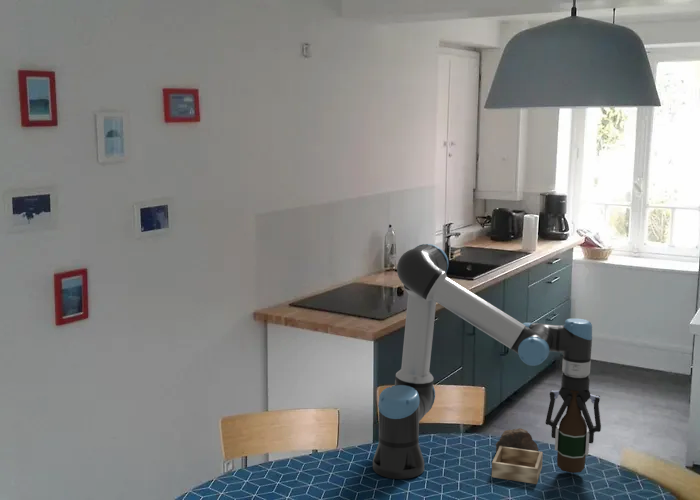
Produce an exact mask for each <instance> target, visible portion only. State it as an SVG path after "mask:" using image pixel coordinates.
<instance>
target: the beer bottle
mask: <svg viewBox="0 0 700 500" xmlns="http://www.w3.org/2000/svg"><path fill="white" fill-rule="evenodd" d="M570 392H571V393H572V399H571V400H570V406H567V407H566V410H565V414H564V416H563V417H561V419H560V421H559V423H558V424H559V425H558V426H559V434H558V450H557V453H556V455H557V456H556V465H557V468H559V469H560V470H561V471H563V472H566V473H567V472H568V473H571V474H574V473H575V474H576V473H582V472H583V470H584V469H585V467H586V458H587V457H586V456H587V455H585V451H586V434H587V430H588V426H587V424H586V421H585V418H584V416H583V413H582V411H581V409H580V407H578V405H577V399H576V396H577V393H579V392H578V391H572V390H571V391H570Z"/></svg>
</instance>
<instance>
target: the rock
mask: <svg viewBox="0 0 700 500" xmlns="http://www.w3.org/2000/svg"><path fill="white" fill-rule="evenodd" d="M499 446H504V447H511V448H518V449H525V450H533V451H539V447H538V445H537V443H536V441H534V440H533V436H532V435H531V433H530V432H528V431H527V430H526V429H524V428H521V427H520V428H515V429H507V430H504V431H503V433H502V434H501V436H500V438H499V440H498V441H496V442H495V447H496V448H495V453H497V451H498V449H499Z"/></svg>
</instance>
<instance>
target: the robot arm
mask: <svg viewBox="0 0 700 500" xmlns="http://www.w3.org/2000/svg"><path fill="white" fill-rule="evenodd" d="M396 265H397V266H396V273H397V276H398V279H399V280H400V282H401V284H403V289H404V291H406V293H407V304H406V312H405V313H406V314H405V315H406V316H405V322H404V323H405V324H404V325H405V326H404V336H403V337H404V338H403V346H402V355H401V356H402V358H401V367H400V370H398V371H397V372H396V373H395V380H394V385H392V386H388V387H386V388H385V389H383V390H381V392H380V393H379V397H378V405H377V407H378V444H377V447H376V450H375V452H374V456H373V459H372V470H373V471H374V472H375V473H376V474H377V475H379V476H382V477H383V478H387V479H393V480H406V479H412V478H416V477H418V476H420V475H421V474H423V472H424V471H425V459H424V455H423V453H422V450H421V447H420V444H419V440H420V438H419V434H420V432H419V431H420V429H419V428H420V425H419V424H420V421H422V419H423V418H424V416H425V415H427V414H428V412H430V410H431V409H432V408H433V406H434V403H435V400H436V390H435V387H434V376H433V374H432V373H431V372H430V369H431V368H430V366H431V358H432V357H431V356H432V347H433V337H434V328H435V326H434V325H435V317H436V307H437V304H439V305H440V306H442V307H443V308H445V309H446V310H448V311H449V312H451V313H453V314H454V315H456V316H458V318H460V319H463V320H464V321H466V322H467V323H469V324H471V325H472V326H473V327H475V328H477V329H478V330H479V331H481V332H483V333H485V334H486V335H488V336H489V337H491V338H492V339H494V340H495V341H497V342H498V343H500V344H502V345H504V346H505V347H507V348H509V349H510V350H512V351H513V352H515V353H516V354H518V356H519V357H518V358H519V359H520V360H521V361H522V362H523V363H524V364H525V365H527V366H531V367H532V366H533V367H534V366H539V365H541V364H543V362H544V361H545V360H547V358H548V357H549V355H550V352H555V353H562V367H561V369H562V370H561V372H562V374H561V386H560V388H559V389H558V390H554V389H550V391H549V405H548V410H547V414H546V418H545V419H546V420H545V424H546V425H547V426H548V425H549V426H550V427H551V438H553V439H555V440H554V451H557V452H558V434H559V425H558V424H559V423H560V421H561V419H562V418H563V417H562V416H563V414H564V413H565V412H566V410H567V406H570V400H571V399H572V393H571V392H570V391H571V390H572V391H578V392H579V393H577V396H576V399H577V405H578V407H580V409H581V414H582V416H583V418H584V420H585V422H586V425H587V434H586V451H585V455H586V456H589V452H590V444H593V443H594V440H595V439H594V438H595V433H599V432H601V431H602V423H601V415H600V414H601V413H600V404H599V403H600V400H601V396H600V395H599V394H597V395H594V394H591V392H590V379H591V378H590V374H591V365H592V363H591V362H592V361H591V360H592V359H591V358H592V357H591V356H592V343H593V324H592V322H591V321H589V320H588V319H585V318H584V319H583V318H566V319H565V321H564V324H562V325H561V324H560V325H559V324H548V323H539V322H538V323H537V322H535V321H534V322H533V321H532V322H523V323H522V322H520V321H518V319H516V318H514V317H512V316H511V315H509V314H507V313H506V312H505V311H503V310H501V309H500V308H498V307H496V306H495V305H493V304H491V303H490V302H489V301H486V300H485V299H483V298H482V297H480V296H479V295H477V294H475V293H474V292H472V291H470V290H469V289H468V288H466V287H464V286H462V285H460V284H459V283H457V282H456V281H454V280H452V279H451V278H449V277H448V276H447V273H448V269H449V259H448V255H447V253H446V252H445V251H444V250H443V249H442V248H441V247H440V246H438V245H435V244H433V243H425V244H424V243H423V244H419V245H417V246H415V247H413V248H412V249H409V250H406V252H404V253H403V254H402V255H401V256H400V258H399V259H398V262H397V264H396ZM559 396H560V398H562V400H563V402H562V404H561V406H560V408H559V410H558V412H557V414H556V415H555V417H554V418H553V420H552V415H553V411H554V407H555V403H556V399H558V397H559ZM588 400H591V403H592V404H593V414H594V415H593V416H594V422H595V425H594V423H593V421H592V418H591V415H590V413H589V410H588V407H587V404H586V403H587V402H588Z"/></svg>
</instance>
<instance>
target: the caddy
mask: <svg viewBox="0 0 700 500" xmlns="http://www.w3.org/2000/svg"><path fill="white" fill-rule="evenodd" d="M495 453H496V452H495ZM543 454H544V452H543V451H540V450H537V451H533V450H525V449H518V448H511V447H504V446H499V449H498V451H497V453H496V454H495V456H494V457H493V460H492V462H491V478H496V479H501V480H508V481H512V482H513V481H515V482H519V483H520V482H522V483H527V484H533V485H537V484H538V482H539V478H540V475H541V471H542V468H543V458H544V457H543Z"/></svg>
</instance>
